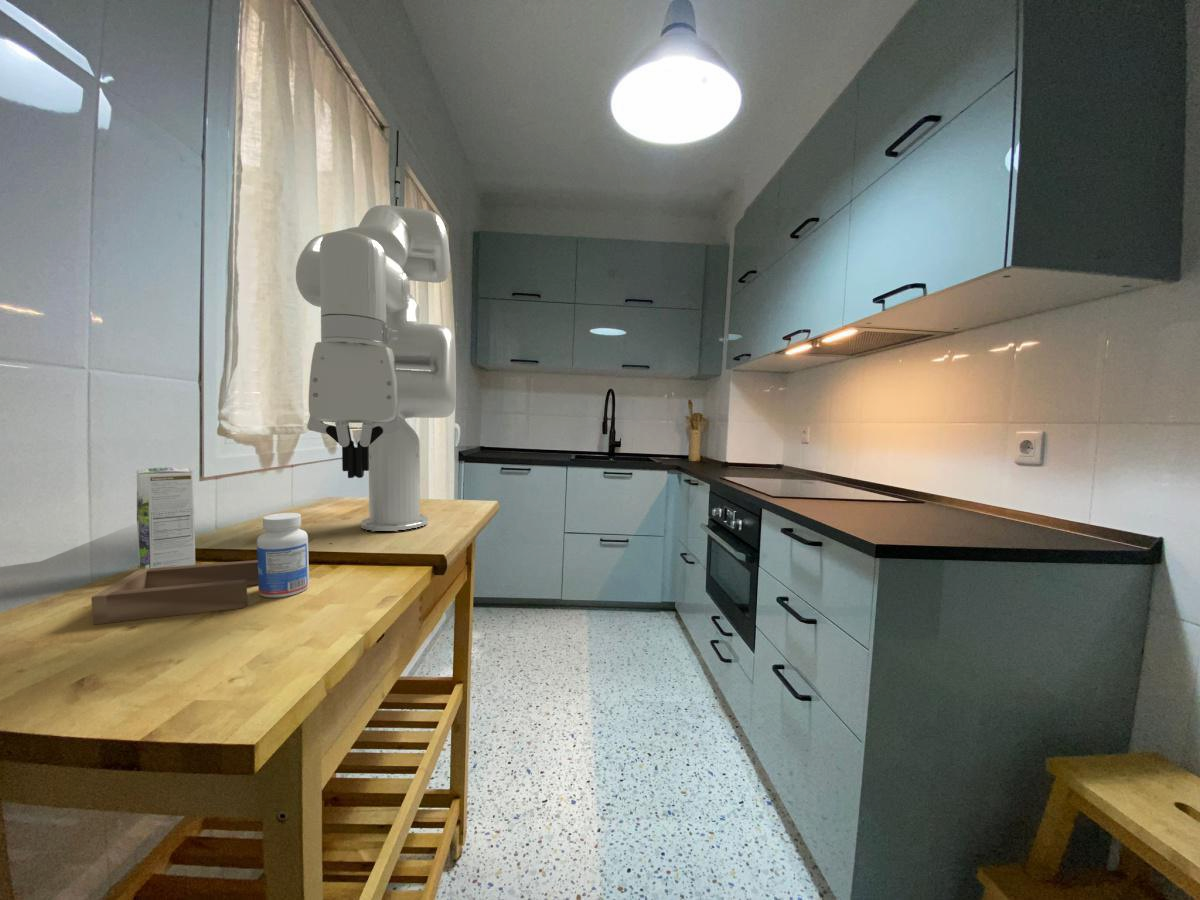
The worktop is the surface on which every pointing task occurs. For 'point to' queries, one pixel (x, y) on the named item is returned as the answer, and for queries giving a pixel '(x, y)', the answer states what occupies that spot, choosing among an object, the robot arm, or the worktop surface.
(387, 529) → the robot arm
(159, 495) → the syrup box
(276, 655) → the worktop surface
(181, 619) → the worktop surface
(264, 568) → the pill bottle
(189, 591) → the cradle
